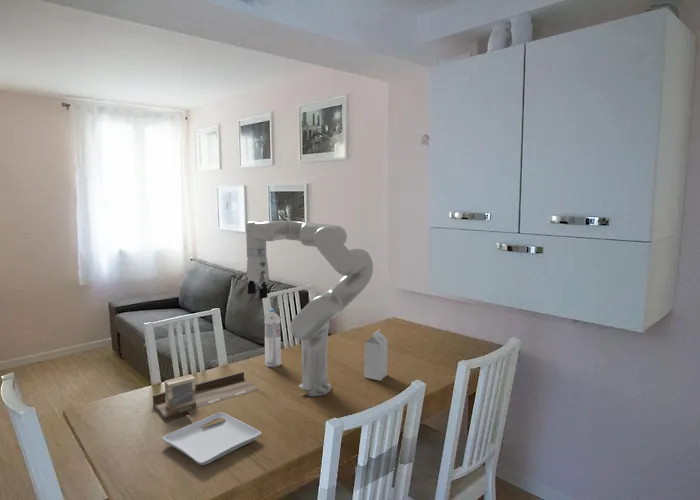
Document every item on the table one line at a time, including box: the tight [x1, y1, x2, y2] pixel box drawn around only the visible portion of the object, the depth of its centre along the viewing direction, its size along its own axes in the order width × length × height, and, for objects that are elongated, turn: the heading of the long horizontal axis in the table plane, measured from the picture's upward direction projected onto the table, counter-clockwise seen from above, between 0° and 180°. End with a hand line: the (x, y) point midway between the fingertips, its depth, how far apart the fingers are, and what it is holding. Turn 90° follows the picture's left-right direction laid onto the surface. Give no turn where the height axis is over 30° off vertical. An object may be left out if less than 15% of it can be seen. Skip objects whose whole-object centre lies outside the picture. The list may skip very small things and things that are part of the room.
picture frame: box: [164, 374, 196, 410], centre depth 155 cm, size 4×9×9 cm, turn 129°
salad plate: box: [161, 411, 262, 466], centre depth 134 cm, size 21×21×3 cm
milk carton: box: [363, 329, 389, 381], centre depth 183 cm, size 7×7×19 cm
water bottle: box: [263, 308, 282, 368], centre depth 195 cm, size 7×7×25 cm
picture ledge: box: [152, 371, 260, 422], centre depth 162 cm, size 14×34×4 cm, turn 129°
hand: (257, 295), depth 177 cm, fingers open, 9 cm apart
